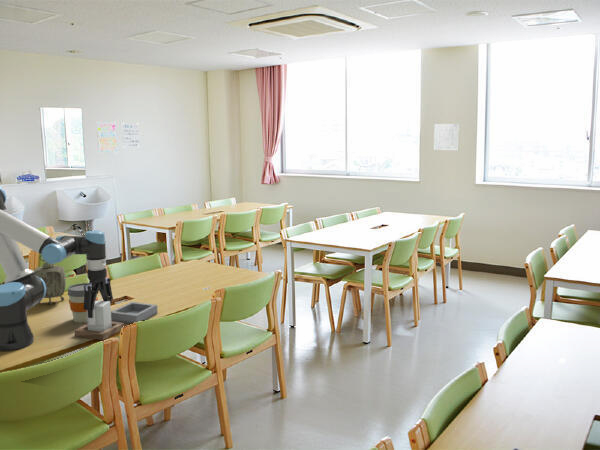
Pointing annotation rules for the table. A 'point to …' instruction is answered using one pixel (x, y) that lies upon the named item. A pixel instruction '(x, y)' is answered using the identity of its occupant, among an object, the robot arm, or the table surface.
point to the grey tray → (133, 312)
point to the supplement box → (101, 316)
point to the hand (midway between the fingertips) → (99, 321)
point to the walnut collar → (103, 335)
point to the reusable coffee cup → (78, 302)
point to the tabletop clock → (52, 279)
